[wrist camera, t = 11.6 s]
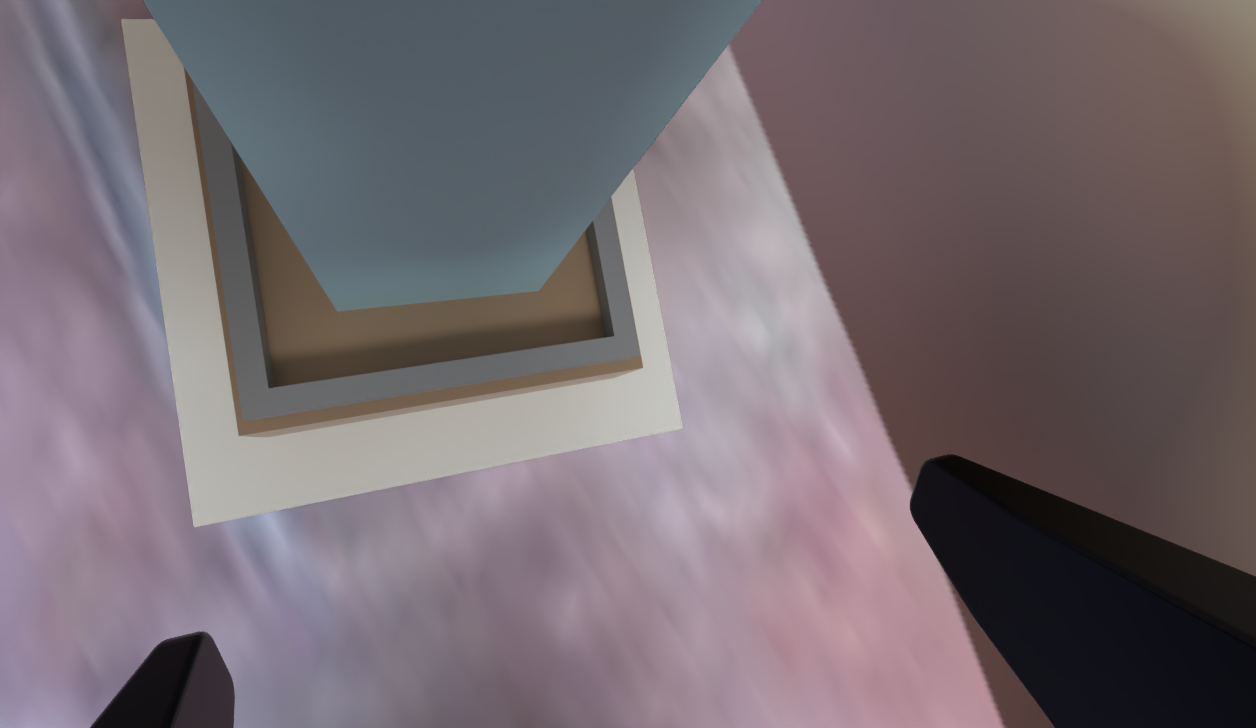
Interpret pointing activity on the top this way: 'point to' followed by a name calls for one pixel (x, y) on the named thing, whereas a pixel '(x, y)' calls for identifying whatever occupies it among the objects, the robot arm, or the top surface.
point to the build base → (369, 447)
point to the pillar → (442, 125)
